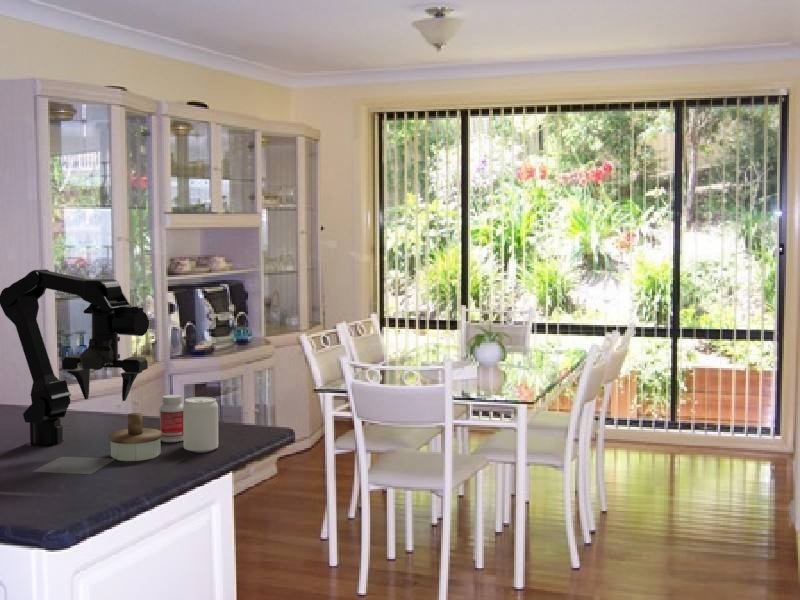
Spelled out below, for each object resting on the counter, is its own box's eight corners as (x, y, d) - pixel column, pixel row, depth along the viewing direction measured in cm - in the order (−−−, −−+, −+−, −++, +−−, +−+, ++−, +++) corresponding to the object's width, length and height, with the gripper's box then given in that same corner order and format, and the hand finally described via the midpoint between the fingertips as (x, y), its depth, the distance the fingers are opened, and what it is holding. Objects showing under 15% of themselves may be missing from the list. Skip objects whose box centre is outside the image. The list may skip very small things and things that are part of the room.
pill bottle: (189, 441, 231) (188, 396, 230) (164, 444, 228) (164, 399, 227) (180, 436, 236) (179, 392, 235) (156, 439, 233) (155, 395, 232)
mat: (32, 474, 199) (32, 471, 199) (61, 459, 212) (61, 456, 212) (90, 476, 198) (90, 474, 198) (116, 461, 211) (116, 458, 211)
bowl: (105, 462, 210) (104, 442, 210) (123, 451, 220) (123, 432, 220) (148, 464, 209) (148, 443, 208) (165, 453, 219) (165, 433, 218)
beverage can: (188, 454, 217) (188, 403, 216) (179, 447, 225) (179, 398, 224) (222, 451, 221) (222, 401, 220) (212, 444, 228) (212, 395, 227)
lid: (100, 442, 209) (99, 418, 208) (121, 431, 220) (121, 408, 220) (150, 444, 208) (149, 420, 207) (168, 433, 219) (168, 409, 219)
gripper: (49, 336, 210) (50, 404, 211) (129, 339, 208) (129, 408, 209) (72, 330, 221) (73, 395, 223) (148, 333, 219) (148, 399, 220)
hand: (105, 399), depth 218 cm, fingers open, 9 cm apart
